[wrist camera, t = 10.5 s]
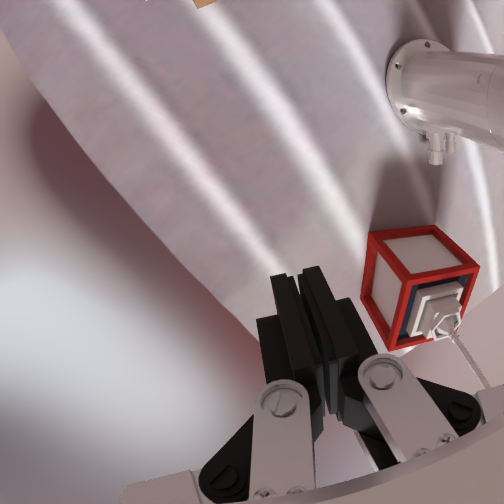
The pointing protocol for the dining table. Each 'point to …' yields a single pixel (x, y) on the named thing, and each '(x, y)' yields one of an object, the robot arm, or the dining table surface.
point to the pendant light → (418, 287)
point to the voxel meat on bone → (202, 2)
